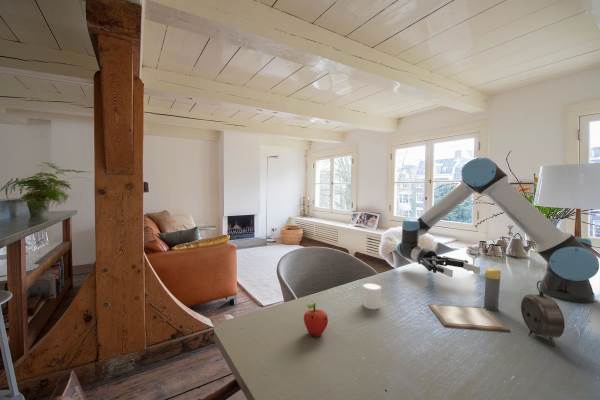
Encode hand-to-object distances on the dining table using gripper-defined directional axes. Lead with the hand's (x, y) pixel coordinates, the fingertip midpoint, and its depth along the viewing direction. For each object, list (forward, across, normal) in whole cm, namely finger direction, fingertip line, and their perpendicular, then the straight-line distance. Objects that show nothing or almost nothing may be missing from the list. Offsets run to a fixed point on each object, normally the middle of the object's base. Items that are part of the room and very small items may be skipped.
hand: (465, 272), depth 100 cm
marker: (+10, 0, -10) cm, 14 cm away
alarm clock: (+27, +4, -10) cm, 29 cm away
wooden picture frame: (+12, +14, -10) cm, 21 cm away
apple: (+8, +64, -10) cm, 65 cm away
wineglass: (-21, -30, -10) cm, 38 cm away
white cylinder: (-4, +39, -10) cm, 40 cm away
